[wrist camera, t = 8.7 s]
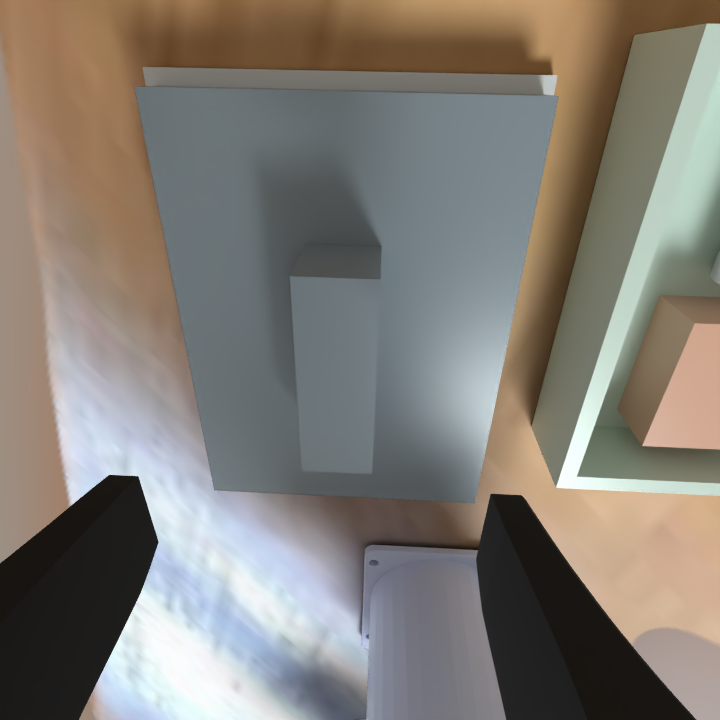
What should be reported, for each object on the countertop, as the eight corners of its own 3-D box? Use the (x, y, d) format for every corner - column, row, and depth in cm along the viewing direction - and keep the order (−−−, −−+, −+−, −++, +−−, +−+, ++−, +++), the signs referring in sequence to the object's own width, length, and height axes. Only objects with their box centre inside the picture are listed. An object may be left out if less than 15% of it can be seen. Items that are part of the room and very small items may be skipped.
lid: (469, 479, 22) (486, 560, 18) (223, 467, 22) (191, 544, 18) (543, 94, 14) (599, 101, 10) (155, 85, 14) (76, 89, 10)
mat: (474, 475, 22) (476, 481, 22) (220, 463, 22) (217, 469, 22) (553, 75, 14) (557, 75, 13) (148, 66, 14) (142, 66, 14)
